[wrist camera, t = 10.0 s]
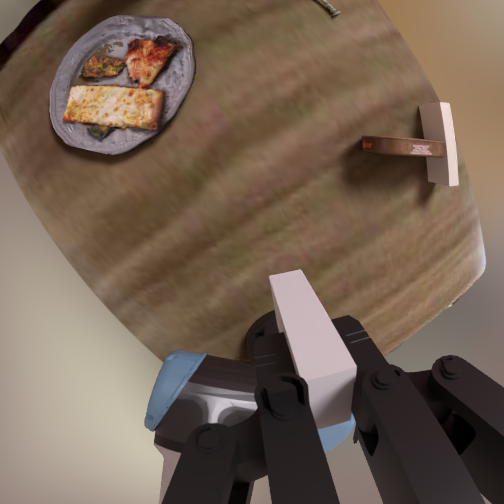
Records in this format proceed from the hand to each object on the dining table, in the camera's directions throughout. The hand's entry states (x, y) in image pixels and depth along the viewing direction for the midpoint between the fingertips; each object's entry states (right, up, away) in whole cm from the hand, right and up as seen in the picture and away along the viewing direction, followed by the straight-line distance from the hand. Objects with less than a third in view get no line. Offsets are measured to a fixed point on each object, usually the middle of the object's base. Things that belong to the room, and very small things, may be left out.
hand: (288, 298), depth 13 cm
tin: (+21, +20, +25) cm, 38 cm away
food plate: (-22, +29, +19) cm, 41 cm away
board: (+30, +22, +25) cm, 44 cm away
